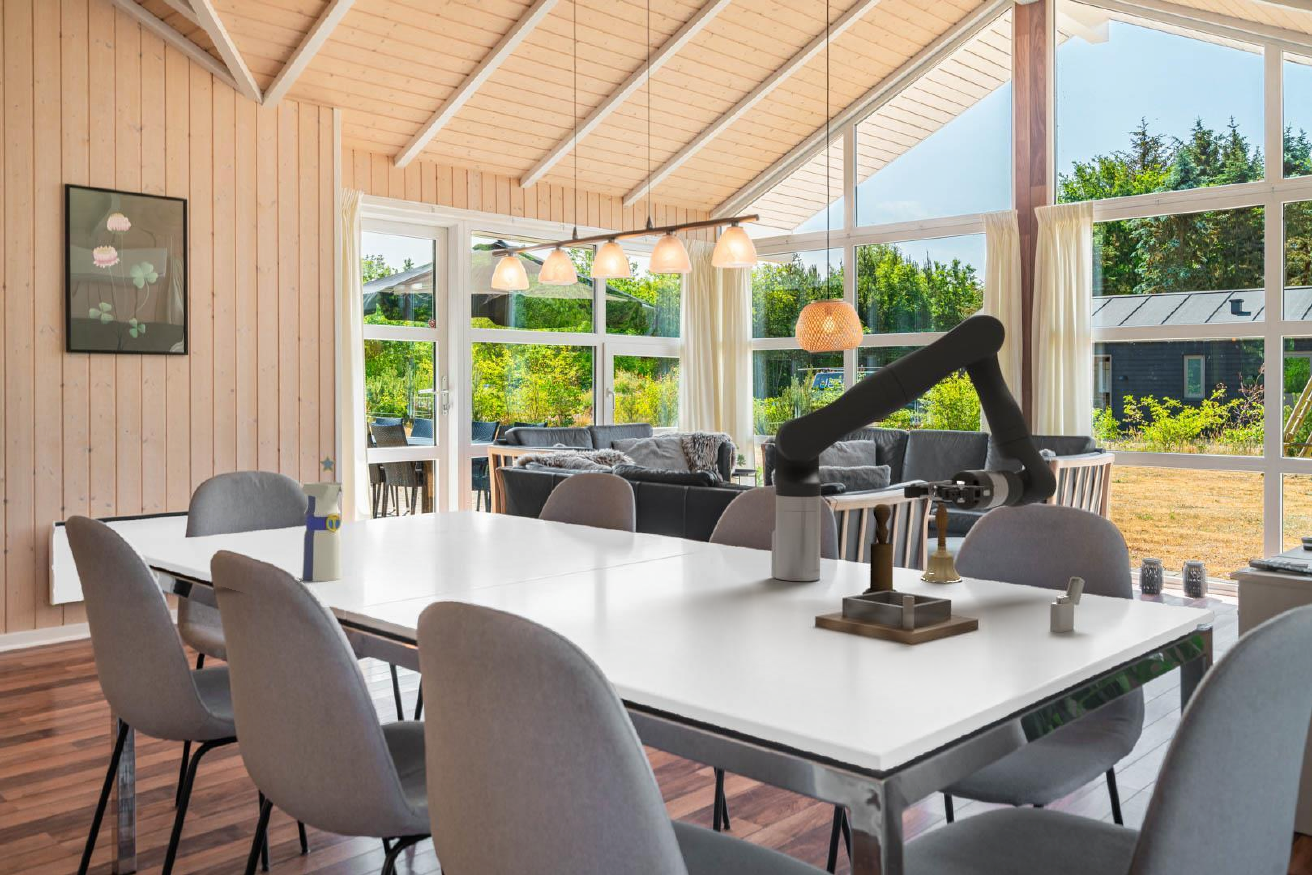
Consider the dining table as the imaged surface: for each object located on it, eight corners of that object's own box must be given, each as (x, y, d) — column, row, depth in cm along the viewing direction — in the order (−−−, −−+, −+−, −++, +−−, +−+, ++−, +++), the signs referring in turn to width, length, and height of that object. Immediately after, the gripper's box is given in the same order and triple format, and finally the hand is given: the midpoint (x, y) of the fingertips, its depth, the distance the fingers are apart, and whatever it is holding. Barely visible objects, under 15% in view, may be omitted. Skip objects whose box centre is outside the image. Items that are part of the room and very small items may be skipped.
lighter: (1059, 632, 161) (1060, 580, 161) (1049, 630, 163) (1050, 579, 163) (1084, 627, 166) (1085, 577, 166) (1074, 625, 167) (1074, 575, 167)
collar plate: (815, 625, 165) (815, 584, 165) (883, 612, 177) (883, 574, 177) (911, 644, 152) (912, 599, 152) (978, 628, 164) (978, 587, 164)
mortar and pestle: (898, 603, 186) (899, 503, 186) (902, 610, 180) (904, 505, 180) (860, 602, 187) (861, 502, 187) (863, 609, 180) (864, 505, 180)
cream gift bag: (354, 577, 212) (354, 454, 212) (320, 582, 205) (320, 455, 205) (326, 574, 217) (327, 454, 216) (292, 579, 210) (293, 454, 209)
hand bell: (961, 584, 210) (962, 505, 210) (919, 581, 213) (919, 503, 213) (963, 578, 218) (963, 502, 218) (922, 576, 221) (923, 501, 221)
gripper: (947, 468, 205) (893, 471, 195) (1011, 471, 194) (956, 474, 184) (948, 507, 205) (893, 511, 196) (1011, 511, 194) (956, 516, 184)
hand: (924, 493), depth 190 cm, fingers open, 8 cm apart
